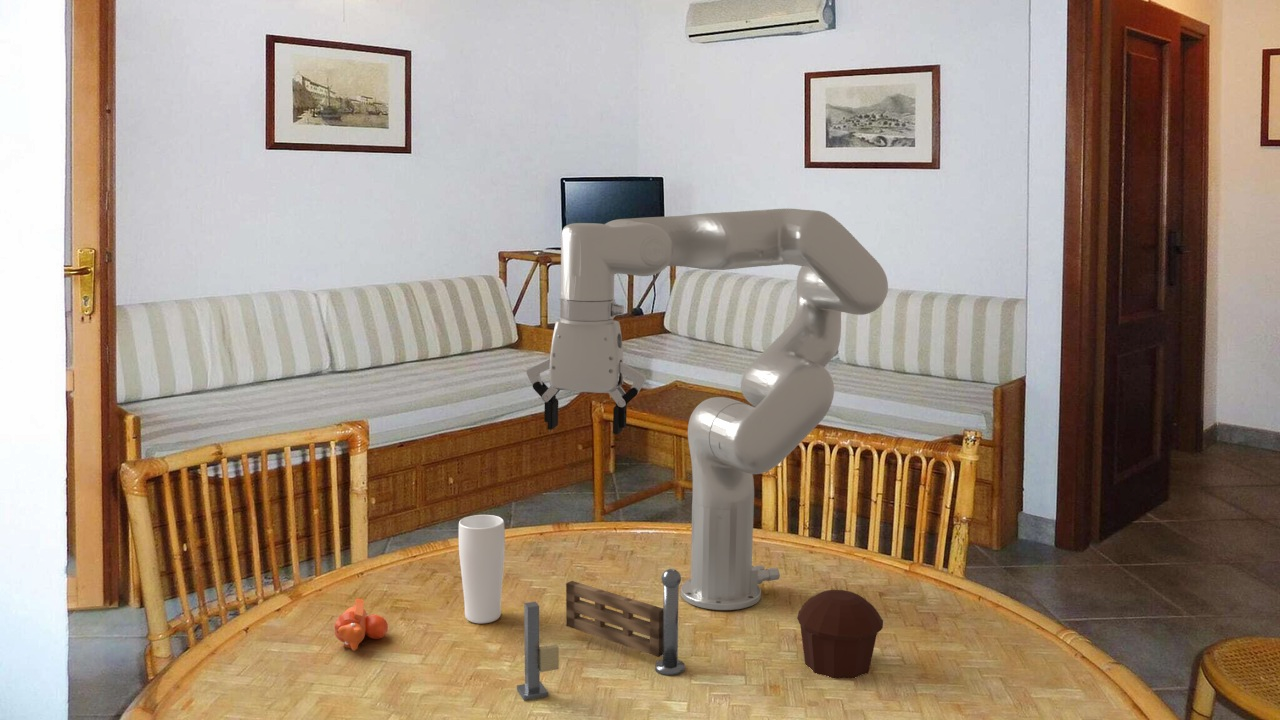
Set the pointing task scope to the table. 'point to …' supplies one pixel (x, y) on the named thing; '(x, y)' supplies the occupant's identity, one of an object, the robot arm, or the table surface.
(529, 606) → the post
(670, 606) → the hinge post
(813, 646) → the muffin
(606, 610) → the gate
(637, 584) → the table surface
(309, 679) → the table surface
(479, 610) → the drinking glass
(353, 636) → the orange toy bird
